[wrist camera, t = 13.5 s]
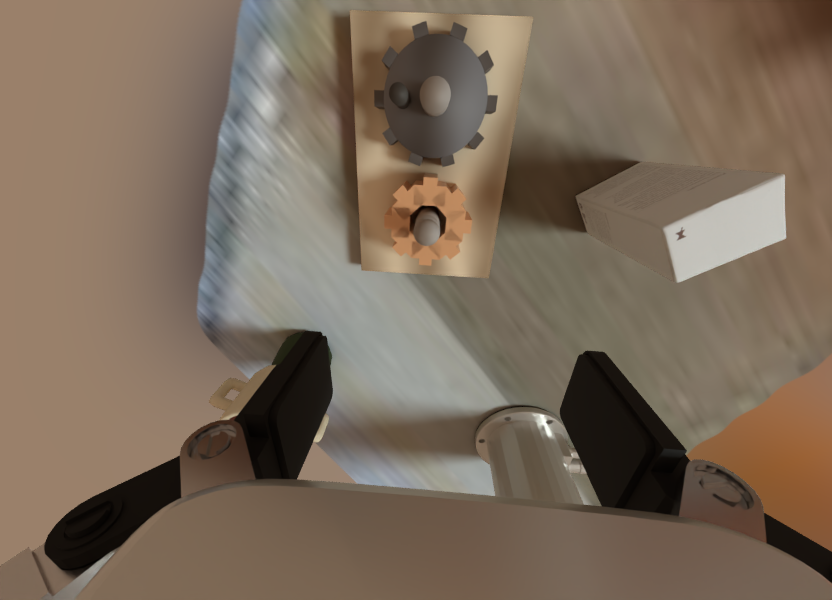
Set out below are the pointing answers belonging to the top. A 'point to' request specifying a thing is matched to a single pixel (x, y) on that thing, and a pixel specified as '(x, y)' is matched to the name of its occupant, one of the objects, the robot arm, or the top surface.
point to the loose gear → (428, 195)
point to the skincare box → (685, 215)
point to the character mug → (254, 383)
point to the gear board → (467, 165)
